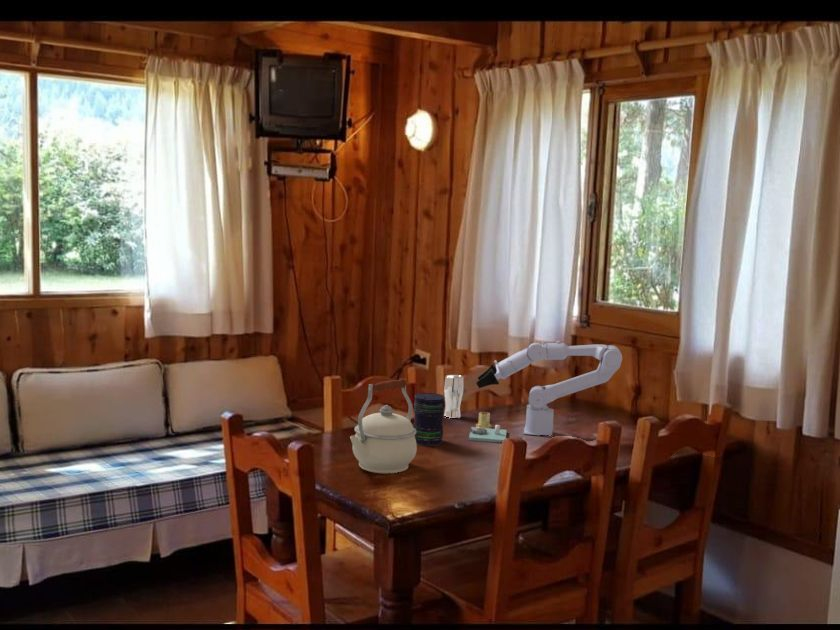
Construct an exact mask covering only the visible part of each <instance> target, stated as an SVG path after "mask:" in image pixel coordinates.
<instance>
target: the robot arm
mask: <svg viewBox="0 0 840 630" xmlns="http://www.w3.org/2000/svg"><path fill="white" fill-rule="evenodd" d="M568 356H573V357H576V356H577V357H578V356H579V357H580V356H581V357H583V356H586V357H590V356H591V357H593V358H595V359H596V360H598V361H599V364H598V366H597V368H596V369H595V370H592V371H590V372H587V373H583V374H580V375H578V376H575V377H571V378H569V379H566V380H563V381H560V382H557V383H554V384H547V385H543V386H541V385H535V386H533V387H531V389H530V390H529V393H528V395H529V396H528V399H527V400H528V404H526V411H525V412H526V415H525V425H524V426H525V427H523V434H524V435H529V436H531V435H532V436H540V435H549V436H548V437H552V436H553V431H554V414H555V413H554V411H555V410H554V409H553V408H549V406H548V404H549V403H552V402H553V401H555V400H557V399H560V398H562V397H566V396H568V395H572V394H574V393H577V392H581V391H583V390H587V389H589V388H591V387H595V386H599V385H602V384H604V383H607V382H609V380H610V379H611V378H612V377H613V375H614V374H615V373H616V372H617V371H618V370H619V369H620V368H621V364H622V362H623V355H622V352H621V351H620V349H619V348H618V347H617V346H616V345H614V344H609V345H608V344H601V343H600V344H598V343H596V344H584V345H583V344H579V345H567V344H566V343H565V342H561V341H560V340H556V342H545V341H541V343H540V342H533V343H530V344H529V345H528V347H526V348H523V349H522V350H519V351H517V352H516V353H513V354H512V355H509V356H508V357H506V358H504V359H503V360H501V361H499V362H498V361H497V359H495V360H494V361H493V362H494V363H491V365H490V366H489V367H488V369H486V370H485V371H484V372H483V373H481V374H480V375H479V376H478V377H477V379H478V380H477V381H476V382H475V384H476V385H477V388H479V389H481V388H485V387H487V386H492V385H497V386H498V385H499V384H500V382H499V380H500V379H502V380H506V379H507V378H509V376H512V375H513V374H516V373H517V372H519V371H521V370H523V369H525V368H527V367H529V365H531V364H533V363H535V362H537V363H538V362H541V361H543V360H545V361H554V360H555V361H556V360H558V361H559V360H565V359H566V358H568ZM494 364H495V365H494ZM550 434H551V435H552V436H551V435H550Z"/></svg>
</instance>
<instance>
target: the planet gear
mask: <svg viewBox="0 0 840 630" xmlns="http://www.w3.org/2000/svg"><path fill="white" fill-rule="evenodd" d="M490 418H491V413H490V412H486V411H480V412H479V413H478V421H477V423H475V427H482V428H490V429H492V424H491V423H490V420H491V419H490Z"/></svg>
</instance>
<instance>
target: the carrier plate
mask: <svg viewBox="0 0 840 630" xmlns="http://www.w3.org/2000/svg"><path fill="white" fill-rule="evenodd" d="M505 438H506V439H507V429H502V428H501V425H500V424H495V427H494V428H482V427H476V426H471V427H470V430H469V436H468V441H473V442H474V441H475V442H486V443H487V442H488V443H497V442H499V443H500V442H502V441H503V440H504V439H505Z"/></svg>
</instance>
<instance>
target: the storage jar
mask: <svg viewBox="0 0 840 630" xmlns="http://www.w3.org/2000/svg"><path fill="white" fill-rule="evenodd" d="M445 407H446V404H445V395H443V394H439V393H435V392H420V393H419V392H418V393H416V394H414V402H413V413H414V417H413V418H414V421H413V423H412V425H413V428H415V429H416V434H415V435H414V436H415V439H416V444H417V445H420V446H427V447H435V446H439V445H441V444H443V436H444V424H443V423H444V413H445Z"/></svg>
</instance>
